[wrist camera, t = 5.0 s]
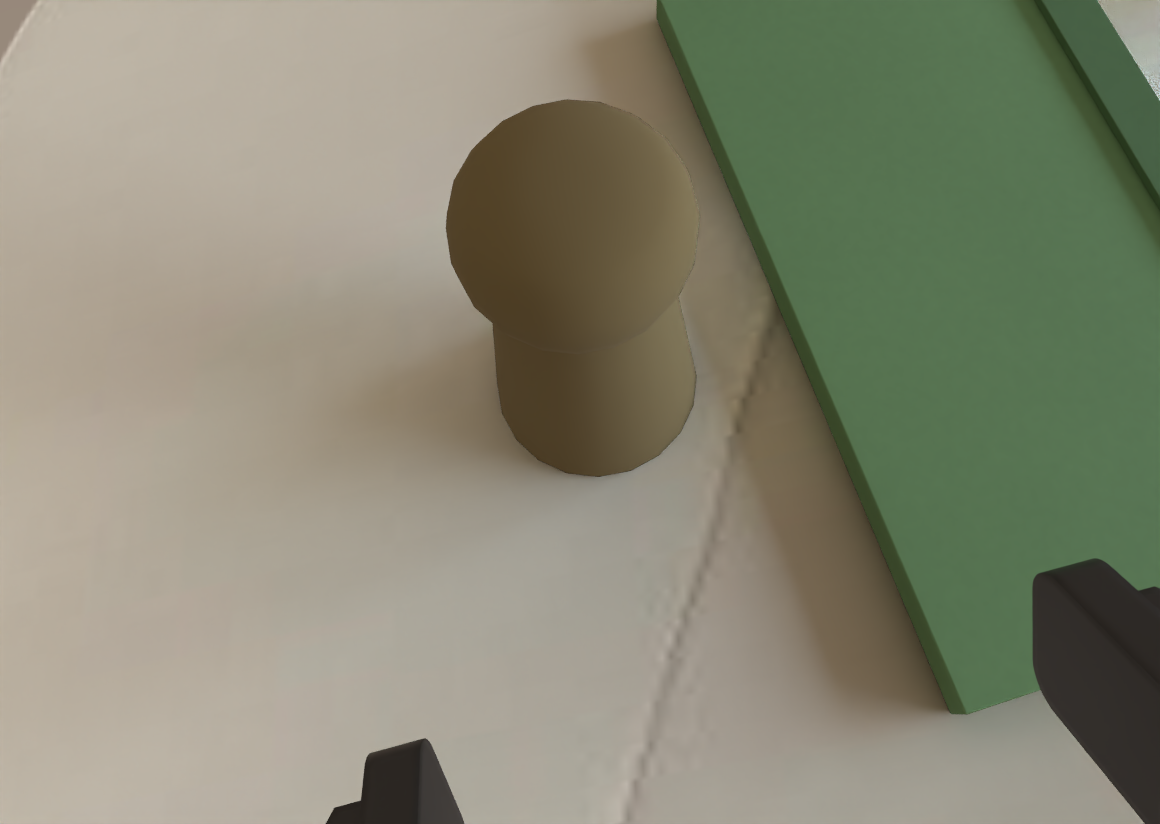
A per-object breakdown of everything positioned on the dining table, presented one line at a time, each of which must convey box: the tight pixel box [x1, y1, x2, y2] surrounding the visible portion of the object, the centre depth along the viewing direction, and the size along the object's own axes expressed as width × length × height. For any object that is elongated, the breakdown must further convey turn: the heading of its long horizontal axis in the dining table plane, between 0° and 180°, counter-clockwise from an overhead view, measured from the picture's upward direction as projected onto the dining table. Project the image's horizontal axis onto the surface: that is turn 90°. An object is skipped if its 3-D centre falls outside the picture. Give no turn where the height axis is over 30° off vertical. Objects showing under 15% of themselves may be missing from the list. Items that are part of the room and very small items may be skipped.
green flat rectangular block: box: [657, 0, 1160, 714], centre depth 27 cm, size 24×13×2 cm, turn 17°
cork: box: [446, 100, 700, 477], centre depth 22 cm, size 6×6×11 cm
